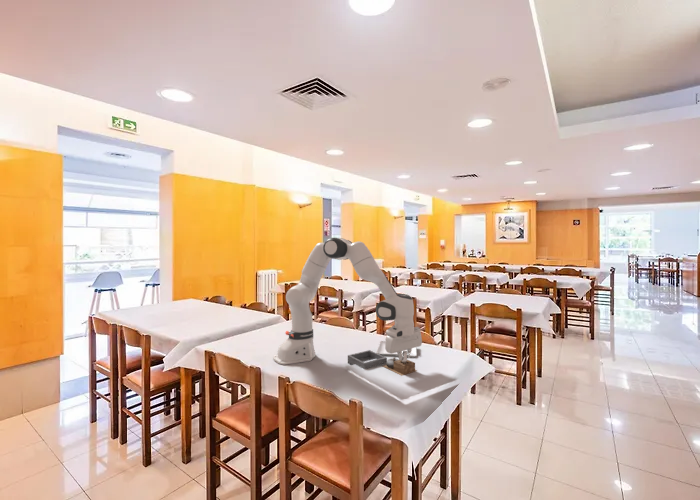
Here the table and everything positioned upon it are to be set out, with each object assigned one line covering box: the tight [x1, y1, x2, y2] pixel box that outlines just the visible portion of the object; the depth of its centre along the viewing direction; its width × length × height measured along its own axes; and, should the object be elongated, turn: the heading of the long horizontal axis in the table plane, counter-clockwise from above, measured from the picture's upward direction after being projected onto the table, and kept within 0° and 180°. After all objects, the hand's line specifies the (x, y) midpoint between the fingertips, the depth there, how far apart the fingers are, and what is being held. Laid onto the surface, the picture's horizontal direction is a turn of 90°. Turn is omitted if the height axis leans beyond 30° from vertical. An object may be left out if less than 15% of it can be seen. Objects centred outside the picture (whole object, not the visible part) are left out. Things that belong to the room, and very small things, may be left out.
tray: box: [347, 349, 388, 370], centre depth 169 cm, size 14×14×4 cm
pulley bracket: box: [381, 356, 418, 377], centre depth 159 cm, size 10×14×6 cm
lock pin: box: [401, 351, 408, 364], centre depth 156 cm, size 2×2×9 cm
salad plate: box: [375, 340, 418, 358], centre depth 185 cm, size 21×21×3 cm
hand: (404, 358), depth 156 cm, fingers closed on lock pin, 2 cm apart
